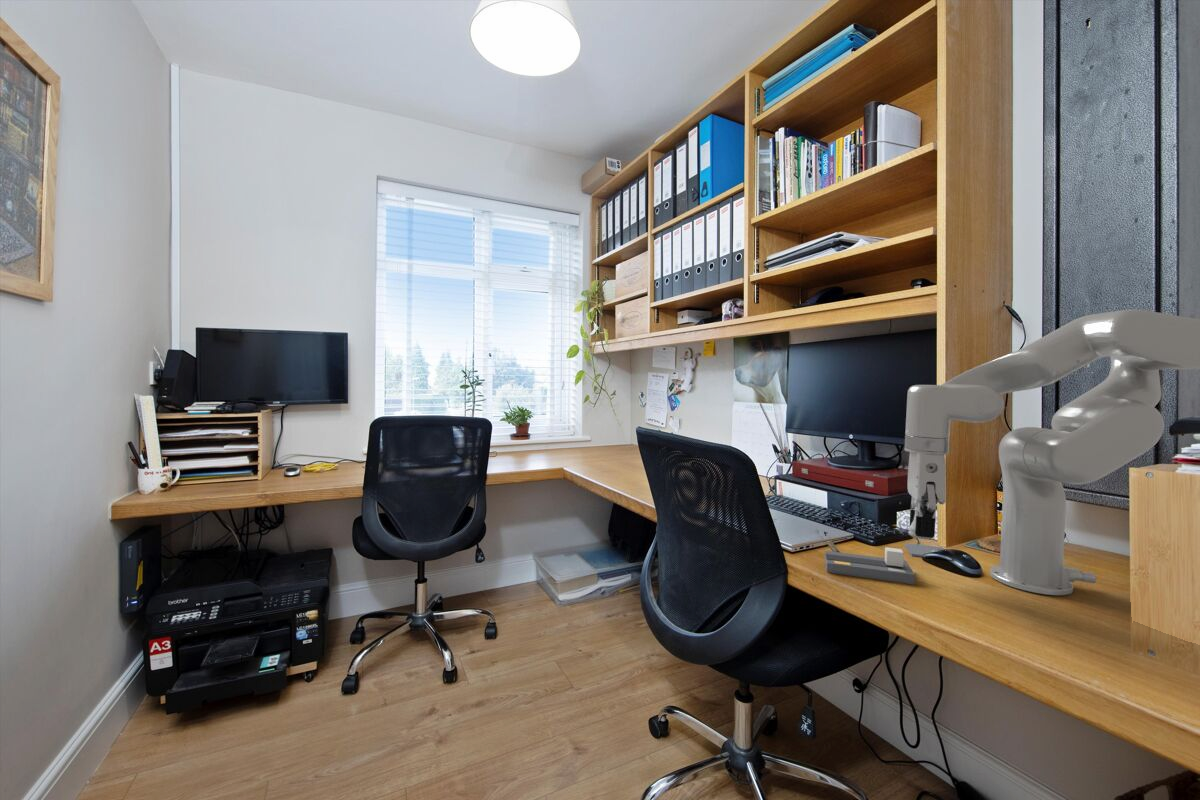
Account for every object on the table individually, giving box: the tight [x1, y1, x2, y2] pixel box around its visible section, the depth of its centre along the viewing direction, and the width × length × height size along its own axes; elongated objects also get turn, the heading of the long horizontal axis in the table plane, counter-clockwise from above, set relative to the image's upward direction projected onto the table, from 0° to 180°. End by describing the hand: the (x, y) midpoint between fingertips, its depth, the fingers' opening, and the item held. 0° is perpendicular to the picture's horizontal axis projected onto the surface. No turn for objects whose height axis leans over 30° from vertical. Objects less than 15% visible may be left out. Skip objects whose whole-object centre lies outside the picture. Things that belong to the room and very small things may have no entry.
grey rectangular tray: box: [824, 550, 916, 585], centre depth 103 cm, size 16×8×2 cm, turn 68°
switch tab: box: [884, 546, 905, 567], centre depth 101 cm, size 3×2×3 cm
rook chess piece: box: [907, 499, 933, 540], centre depth 99 cm, size 4×4×8 cm
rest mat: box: [904, 542, 945, 558], centre depth 114 cm, size 8×8×1 cm
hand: (921, 531), depth 99 cm, fingers closed on rook chess piece, 4 cm apart
